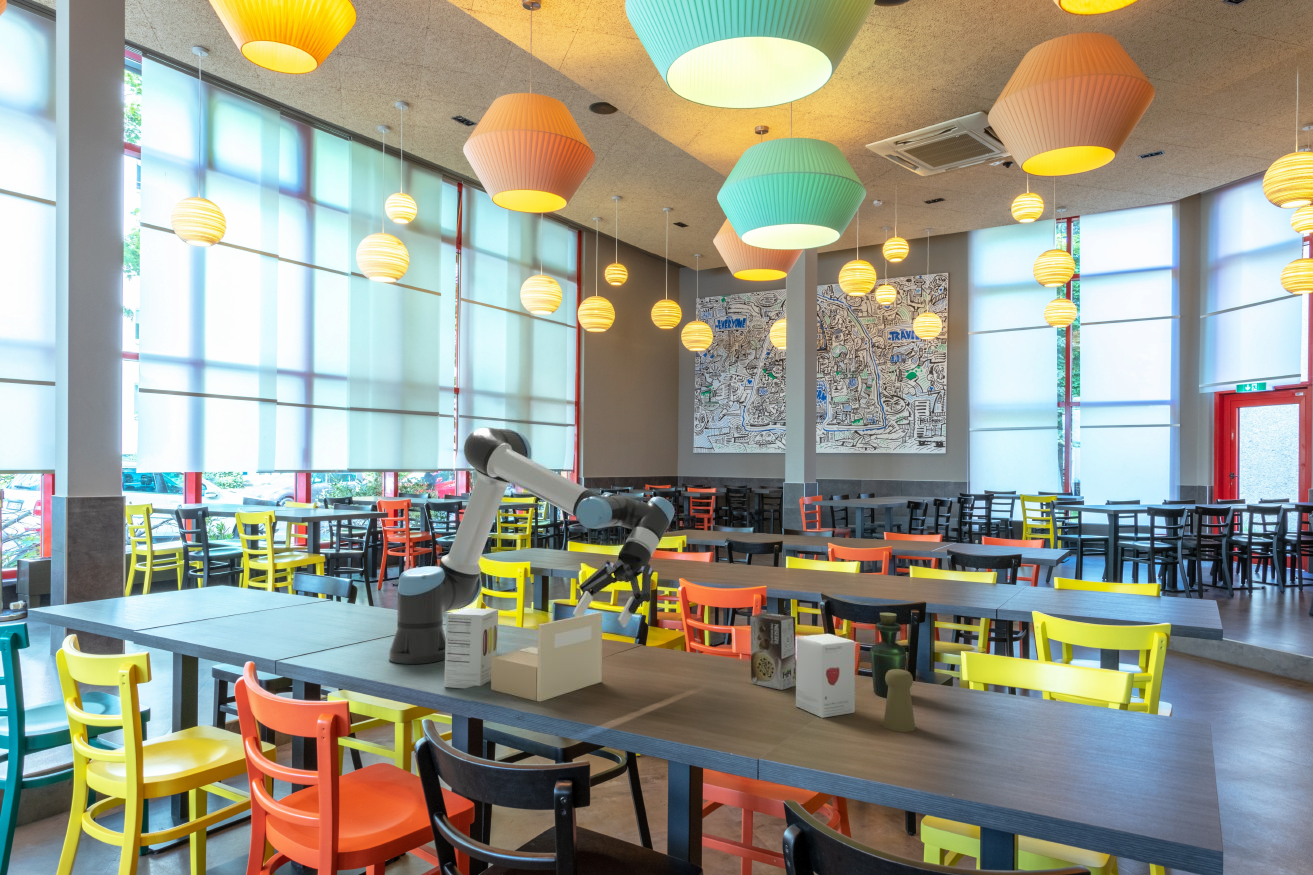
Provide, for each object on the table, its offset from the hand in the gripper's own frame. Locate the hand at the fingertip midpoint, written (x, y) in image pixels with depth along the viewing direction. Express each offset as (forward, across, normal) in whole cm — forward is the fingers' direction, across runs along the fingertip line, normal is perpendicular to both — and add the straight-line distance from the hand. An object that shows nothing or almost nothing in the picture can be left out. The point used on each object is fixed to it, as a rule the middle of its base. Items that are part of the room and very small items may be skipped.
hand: (598, 620), depth 176 cm
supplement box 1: (+22, +26, 0) cm, 34 cm away
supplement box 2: (-1, -48, -23) cm, 54 cm away
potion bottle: (-15, -55, -38) cm, 68 cm away
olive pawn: (0, -64, -22) cm, 68 cm away
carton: (+17, +9, -5) cm, 19 cm away
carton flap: (+16, +1, -4) cm, 17 cm away
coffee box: (-9, -30, -31) cm, 44 cm away
